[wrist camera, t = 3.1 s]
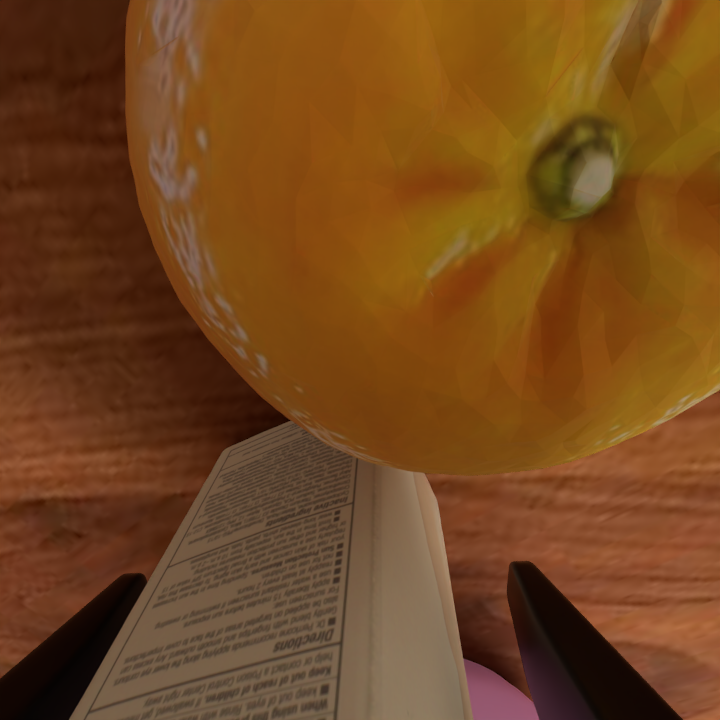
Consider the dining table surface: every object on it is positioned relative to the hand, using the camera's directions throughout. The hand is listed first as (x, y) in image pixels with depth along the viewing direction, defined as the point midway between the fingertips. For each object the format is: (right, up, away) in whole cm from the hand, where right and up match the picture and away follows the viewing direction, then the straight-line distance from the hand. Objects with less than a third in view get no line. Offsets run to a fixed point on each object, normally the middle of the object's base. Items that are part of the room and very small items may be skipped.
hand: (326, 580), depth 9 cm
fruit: (+2, +9, 0) cm, 9 cm away
